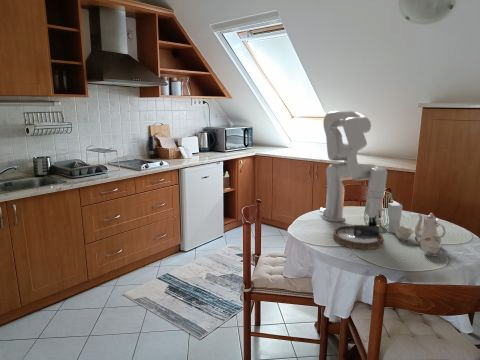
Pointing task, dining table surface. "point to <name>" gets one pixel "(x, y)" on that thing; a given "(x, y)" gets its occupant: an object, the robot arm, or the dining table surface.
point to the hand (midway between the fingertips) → (371, 229)
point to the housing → (357, 244)
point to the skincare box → (394, 215)
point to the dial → (360, 233)
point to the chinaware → (424, 234)
